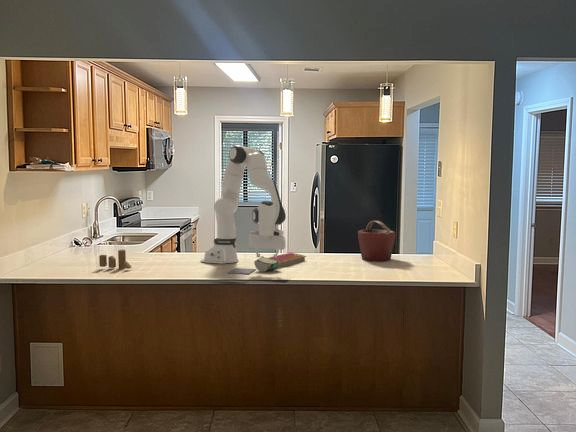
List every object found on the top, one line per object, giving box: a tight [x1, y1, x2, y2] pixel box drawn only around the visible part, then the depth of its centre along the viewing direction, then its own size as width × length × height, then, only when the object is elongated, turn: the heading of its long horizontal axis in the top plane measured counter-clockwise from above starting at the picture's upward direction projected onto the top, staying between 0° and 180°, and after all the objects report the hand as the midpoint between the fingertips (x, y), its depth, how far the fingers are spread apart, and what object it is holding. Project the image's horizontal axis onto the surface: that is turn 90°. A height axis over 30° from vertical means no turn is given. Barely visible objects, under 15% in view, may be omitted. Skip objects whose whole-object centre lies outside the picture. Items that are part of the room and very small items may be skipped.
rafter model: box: [269, 252, 307, 269], centre depth 327 cm, size 35×14×6 cm, turn 149°
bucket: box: [357, 220, 396, 263], centre depth 339 cm, size 24×22×25 cm
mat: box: [227, 267, 257, 276], centre depth 300 cm, size 12×14×1 cm
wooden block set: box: [98, 249, 132, 270], centre depth 304 cm, size 18×9×10 cm, turn 84°
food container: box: [253, 255, 280, 273], centre depth 304 cm, size 12×6×10 cm
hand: (266, 257), depth 296 cm, fingers open, 8 cm apart
